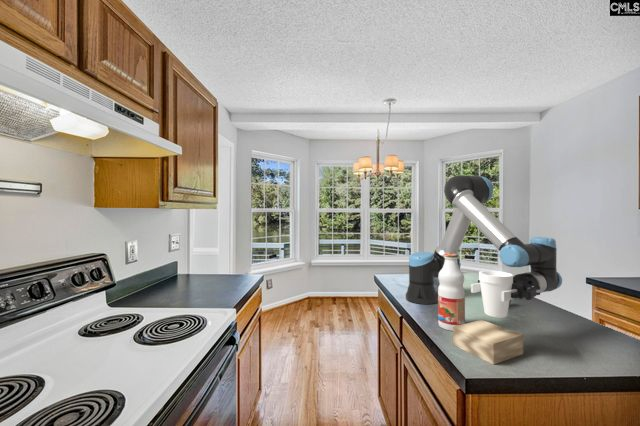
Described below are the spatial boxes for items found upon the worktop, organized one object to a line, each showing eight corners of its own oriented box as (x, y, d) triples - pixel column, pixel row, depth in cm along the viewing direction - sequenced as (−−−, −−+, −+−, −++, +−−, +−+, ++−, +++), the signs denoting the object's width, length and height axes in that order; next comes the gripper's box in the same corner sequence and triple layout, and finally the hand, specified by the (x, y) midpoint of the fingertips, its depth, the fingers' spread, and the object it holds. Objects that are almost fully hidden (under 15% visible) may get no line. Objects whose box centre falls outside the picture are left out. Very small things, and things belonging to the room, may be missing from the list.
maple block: (453, 344, 97) (452, 326, 97) (481, 336, 103) (481, 319, 103) (493, 364, 85) (493, 343, 85) (523, 354, 91) (523, 334, 91)
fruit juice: (469, 331, 108) (469, 255, 108) (444, 332, 108) (443, 255, 108) (458, 322, 117) (457, 252, 117) (434, 322, 117) (433, 252, 117)
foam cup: (513, 321, 88) (513, 278, 88) (478, 316, 93) (478, 274, 92) (512, 311, 96) (511, 272, 96) (479, 307, 101) (479, 269, 101)
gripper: (565, 303, 92) (524, 315, 82) (496, 287, 112) (456, 295, 102) (565, 279, 92) (524, 288, 82) (496, 267, 112) (456, 273, 102)
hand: (486, 292), depth 92 cm, fingers closed on foam cup, 9 cm apart
